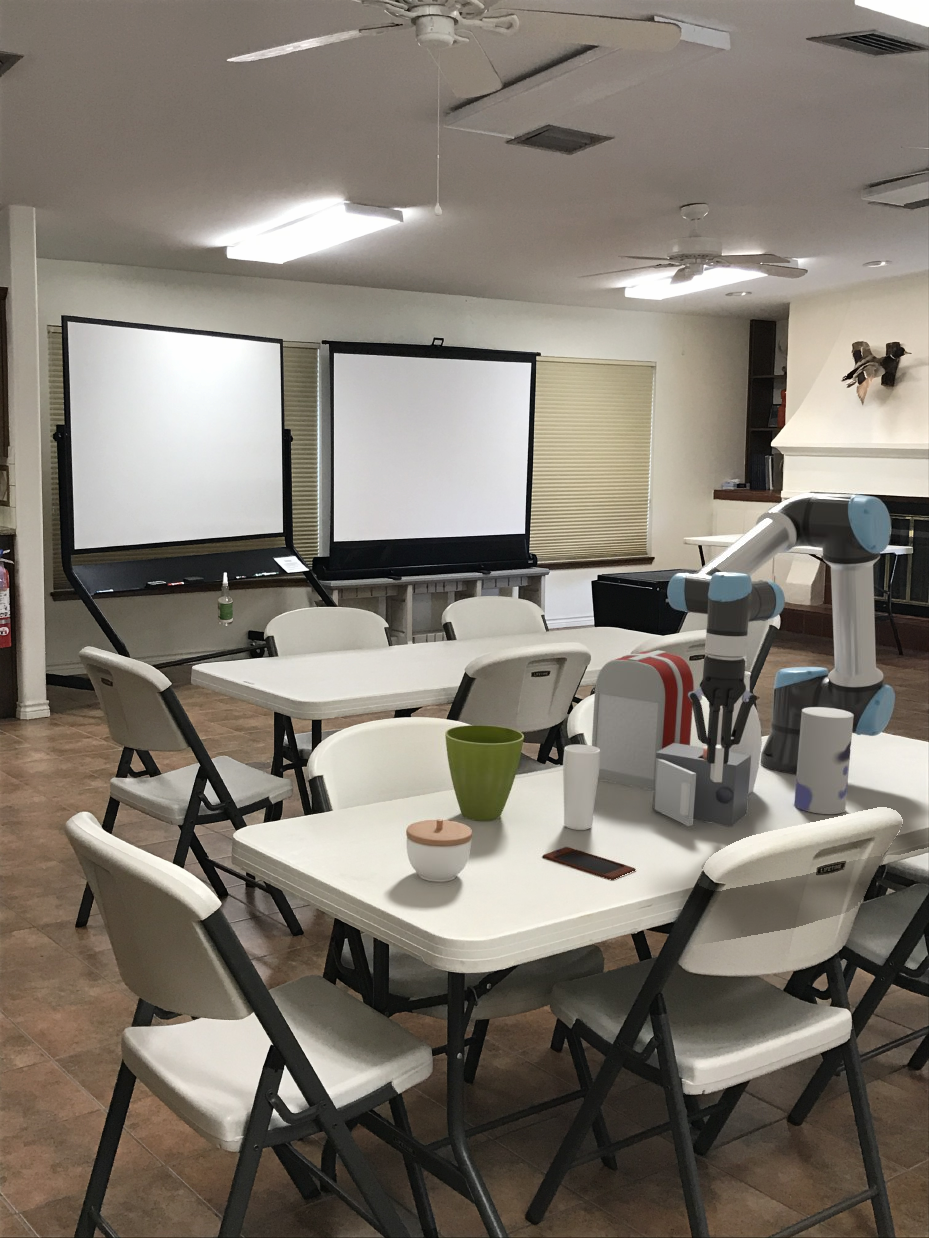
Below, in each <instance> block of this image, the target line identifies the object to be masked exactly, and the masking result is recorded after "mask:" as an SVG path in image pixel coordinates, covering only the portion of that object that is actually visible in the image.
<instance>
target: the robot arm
mask: <svg viewBox="0 0 929 1238" xmlns="http://www.w3.org/2000/svg"><path fill="white" fill-rule="evenodd" d="M891 533H892V523H891V517H890V513H889V510H888V508H887V506H886V505H885V503H884V502H883V501H882V500H881V499H880V498H878V497H875V496H870V495H864V494H858V493H857V494H853V493H852V494H849V493H845V494H844V493H825V492H824V493H823V492H807V493H801V494H798V495H797V494H796V495H794V496H792V497H790V498H788V499H785V500H782V501H780V502H778V503H777V504H775V505H774V506H772V507H770V508H769V509H767V510H766V511H765V512H763V513H762V514H761V515H759V517H757V520H756V522H755V525H754V526H752V528H750V530H748V531H747V532H745V533H744V534H742V535H741V536H740V537H739V538H738V539H736V540H735V541H734V542H732V543H731V544H730V545H729V546H727V547H726V548H725V549H723V550H722V551H721V552H719V553H718V554H717V555H716V556H715V557H713V558H712V559H711V560H709V561H708V562H707V563H706V564H704V565H703V566H702V567H700V568H699V569H698V570H697V571H695V572H694V573H689V572H685V573H684V572H680V573H679V572H678V573H676V574H674V575H673V576H672V577H671V579H670V580H669V582H668V586H667V593H666V594H667V601H668V603H669V605H670V607H671V608H672V609H674V610H677V611H682V612H686V613H694V614H701V615H707V617H706V618H707V619H706V620H707V621H706V630H705V632H706V633H705V634H706V635H705V645H704V653H706V655H705V656H704V657H703V667H702V668H703V671H702V679H701V682H700V683H699V687H697V688H696V689H694V691H689V692H688V693H687V695H688V697H689V699H690V701H691V702H692V706H693V711H692V713H693V717H694V723H695V729H696V735H697V740H699V742H700V743H702V744H704V745H706V748H707V762H708V763H711V773H710V779H711V780H712V781H713V782H722V772H723V764H727V763H728V760H729V749H730V748H731V746H732V745H735V744H736V745H738V744H739V743H740V741H741V738H742V734H743V731H744V728H745V725H746V722H747V719H748V716H749V713H750V710H751V707H752V706H753V704H754V705H755V703H756V702H757V700H758V696H757V695H756V694H754V693H752V692H751V691H747V690H746V685H745V683H744V675H745V671H746V660H745V658H744V657H745V656H747V651H748V650H747V647H748V646H747V645H748V634H749V633H748V632H749V631H748V629H749V623H751V622H752V623H753V622H759V621H761V622H765V621H768V620H771V619H774V618H776V617H778V616H779V615H780V614H781V613H782V612H783V610H784V607H785V603H786V599H785V598H786V597H785V593H784V591H783V589H782V588H781V586H780V585H779V584H777V583H776V582H773V581H771V580H763V579H760V580H759V579H758V580H757V581H756V580H752V577H751V576H752V575H754V574H755V573H756V572H758V571H759V569H761V568H762V567H763V566H765V564H767V563H768V562H769V561H771V560H772V559H773V558H774V557H776V556H777V555H778V554H783V553H786V552H788V551H790V550H791V549H793V548H796V547H812V548H819V549H821V550H822V559H823V561H824V562H825V563H826V564H827V565H828V566H829V567H830V578H831V579H830V580H831V581H830V583H831V600H832V601H831V604H832V605H831V606H832V626H833V627H832V629H833V630H832V631H833V633H832V634H833V649H834V650H833V653H834V655H833V656H834V658H833V659H834V668H833V669H831V670H830V671H829V669H828V668H827V667H821V666H820V667H819V666H797V667H796V666H795V667H786V668H781V669H780V670H778V671H777V672H776V673H775V677H774V684H773V687H772V689H773V692H772V693H773V695H772V707H771V723H770V725H771V726H770V732H769V734H768V736H767V739H766V742H765V744H764V746H763V748H762V749H761V753H760V761H759V764H760V765H762V766H763V767H764V768H765V767H766V768H767V769H769V770H774V771H777V772H782V773H788V774H796V775H797V765H798V752H799V740H800V728H801V716H802V709H804V708H809V707H825V708H834V709H840V710H844V711H848V712H850V713H852V714H853V715H854V717H853V728H852V734H856V735H857V736H861V735H862V736H869V737H875V736H878V735H879V734H881V733H882V732H883V731H884V730H885V729H886V727H887V725H888V723H889V722H890V719H891V717H892V716H893V715H892V714H893V711H894V707H895V703H896V702H895V701H896V700H895V699H896V693H895V690H894V688H893V687H892V686H890V685H888V684H885V683H884V682H885V681H884V673H883V671H882V670H880V669H879V667H877V662H876V661H877V660H876V657H877V656H876V629H875V628H876V627H875V625H876V624H875V622H876V621H875V619H876V618H875V591H874V590H875V589H874V564H875V563H876V562H877V561H878V560H879V559H880V558H881V553H882V552H884V551H885V550H886V549H887V547H888V545H889V543H890V540H891V539H890V536H891ZM702 695H703V696H704V697H705V698H706V700H707V702H708V711H709V712H708V721H707V729H706V724H705V718H704V717H705V716H704V712H703V707H702V702H701V701H702V699H703V696H702ZM742 695H743V696H742ZM741 696H742V703H741V706H740V709H739V712H738V715H737V718H736V721H735V725H734V728H733V731H732V734H731V730H732V716H733V711H734V704H735V703H736V702H737V701H738V700H739V698H740V697H741ZM720 706H722V708H723V714H722V728H721V745H717V734H718V721H719V712H720Z"/></svg>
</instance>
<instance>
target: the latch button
mask: <svg viewBox="0 0 929 1238" xmlns="http://www.w3.org/2000/svg"><path fill="white" fill-rule="evenodd" d="M703 748H704V749H703V759H707V747H703Z"/></svg>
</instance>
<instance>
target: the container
mask: <svg viewBox="0 0 929 1238" xmlns="http://www.w3.org/2000/svg"><path fill="white" fill-rule="evenodd" d="M853 717H854V715H853V714H852V713H850V712H848V711H844V710H840V709H834V708H825V707H809V708H804V709H802V716H801V728H800V740H799V752H798V765H797V774H796V779H795V781H796V783H795V790H794V791H795V792H794V804H793V805H794V806H795V807H797V808H798V809H799V810H802V811H805V812H808V813H809V812H810V813H814V814H822V815H838V814H842V813H845V811H846V809H847V808H846V807H847V805H846V804H847V793H848V784H849V783H848V782H849V772H850V771H849V770H850V761H851V746H852V737H853V733H852V728H853Z"/></svg>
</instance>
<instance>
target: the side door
mask: <svg viewBox="0 0 929 1238" xmlns="http://www.w3.org/2000/svg"><path fill="white" fill-rule="evenodd" d="M695 785H696V773H694V772H691V771H689V770H687V769H684V768H682V767H679V766H677V765H675V764H672V763H670V762H668V761H665V760H663V759H660V758H657V759H656V771H655V787H654V791H653V795H654V802H653V801H652V810H653V809H655V810H657V811H659V812H661V813H660V814H662V813H663V815H665V816H667V817H670V818H671V819H674V820H675V821H678V822H680V823H682V824H683V825H685V826H687V827H690V826H693V825H694V819H693V813H694V799H695Z"/></svg>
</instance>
